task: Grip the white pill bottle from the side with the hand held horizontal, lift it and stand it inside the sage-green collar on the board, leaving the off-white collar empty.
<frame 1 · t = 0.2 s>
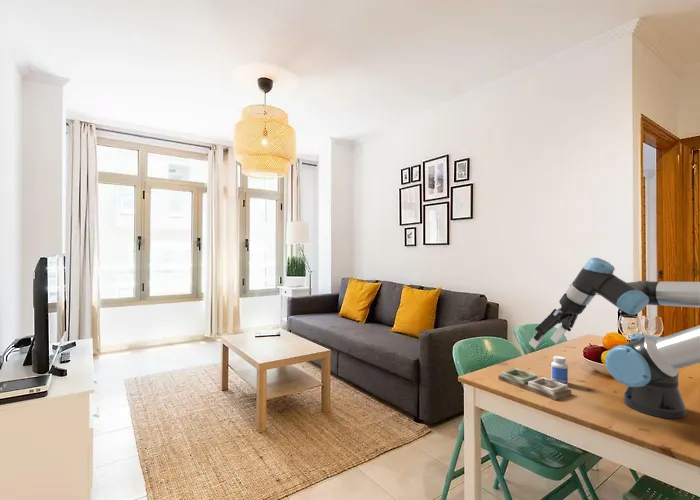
hand: (543, 343, 132), 16 cm above the table, tool tilted 30°, fingers open, 13 cm apart
board: (532, 386, 131), on the table
pill bottle: (559, 383, 135), on the table
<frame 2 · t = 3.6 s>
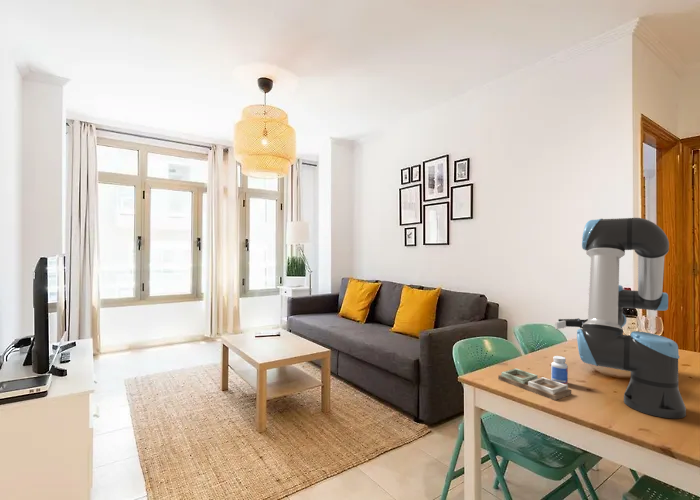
hand: (573, 329, 139), 19 cm above the table, tool horizontal, fingers open, 13 cm apart
nothing on the table moved.
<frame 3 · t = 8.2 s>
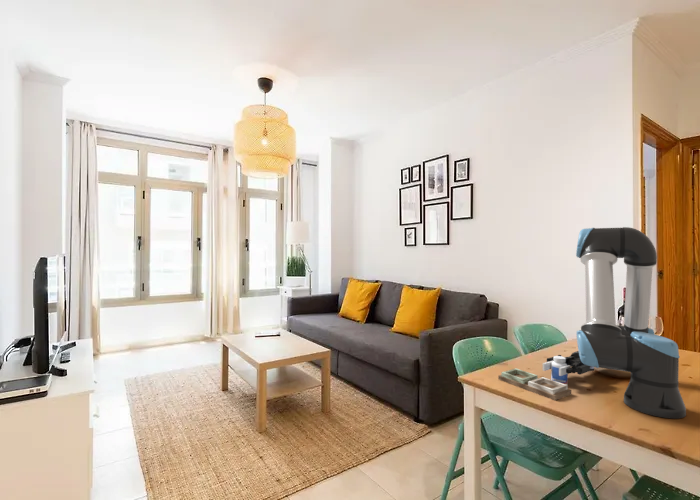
hand: (551, 369, 132), 6 cm above the table, tool horizontal, fingers closed on pill bottle, 5 cm apart
pill bottle: (559, 383, 135), on the table, touching gripper
when the fingers open (9 cm above the table, at t = 13.1 s): pill bottle drops 1 cm, resting on board.
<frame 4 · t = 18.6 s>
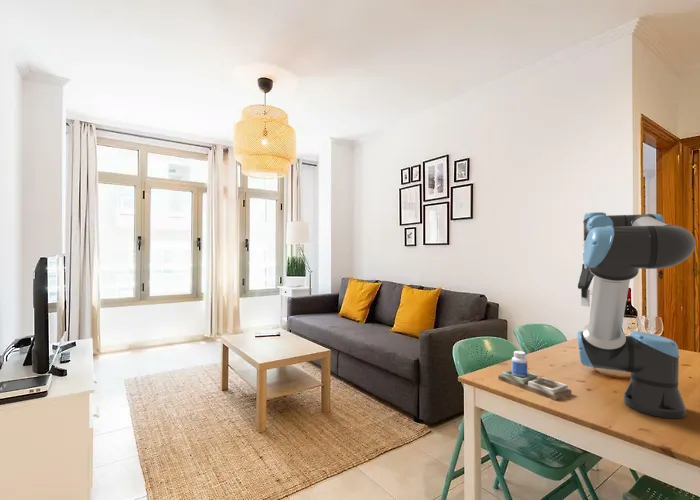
hand: (594, 304, 142), 29 cm above the table, tool pointing down, fingers open, 13 cm apart
pill bottle: (519, 378, 136), point 1 cm above the table, touching board
at the end: pill bottle 0.1 cm from the target spot on the board, point 1.3 cm above the board's base; pill bottle tilted 0°; the gripper is holding nothing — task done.
